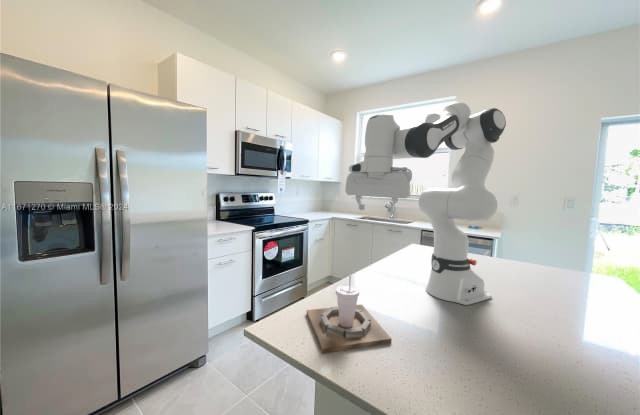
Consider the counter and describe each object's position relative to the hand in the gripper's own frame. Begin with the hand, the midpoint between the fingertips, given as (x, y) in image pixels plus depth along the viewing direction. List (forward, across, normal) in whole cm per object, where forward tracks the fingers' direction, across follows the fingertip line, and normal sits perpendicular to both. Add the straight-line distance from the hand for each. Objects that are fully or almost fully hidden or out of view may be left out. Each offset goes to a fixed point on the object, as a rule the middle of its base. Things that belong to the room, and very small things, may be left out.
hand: (375, 211), depth 81 cm
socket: (+31, +1, +17) cm, 35 cm away
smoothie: (+30, +1, +17) cm, 35 cm away
